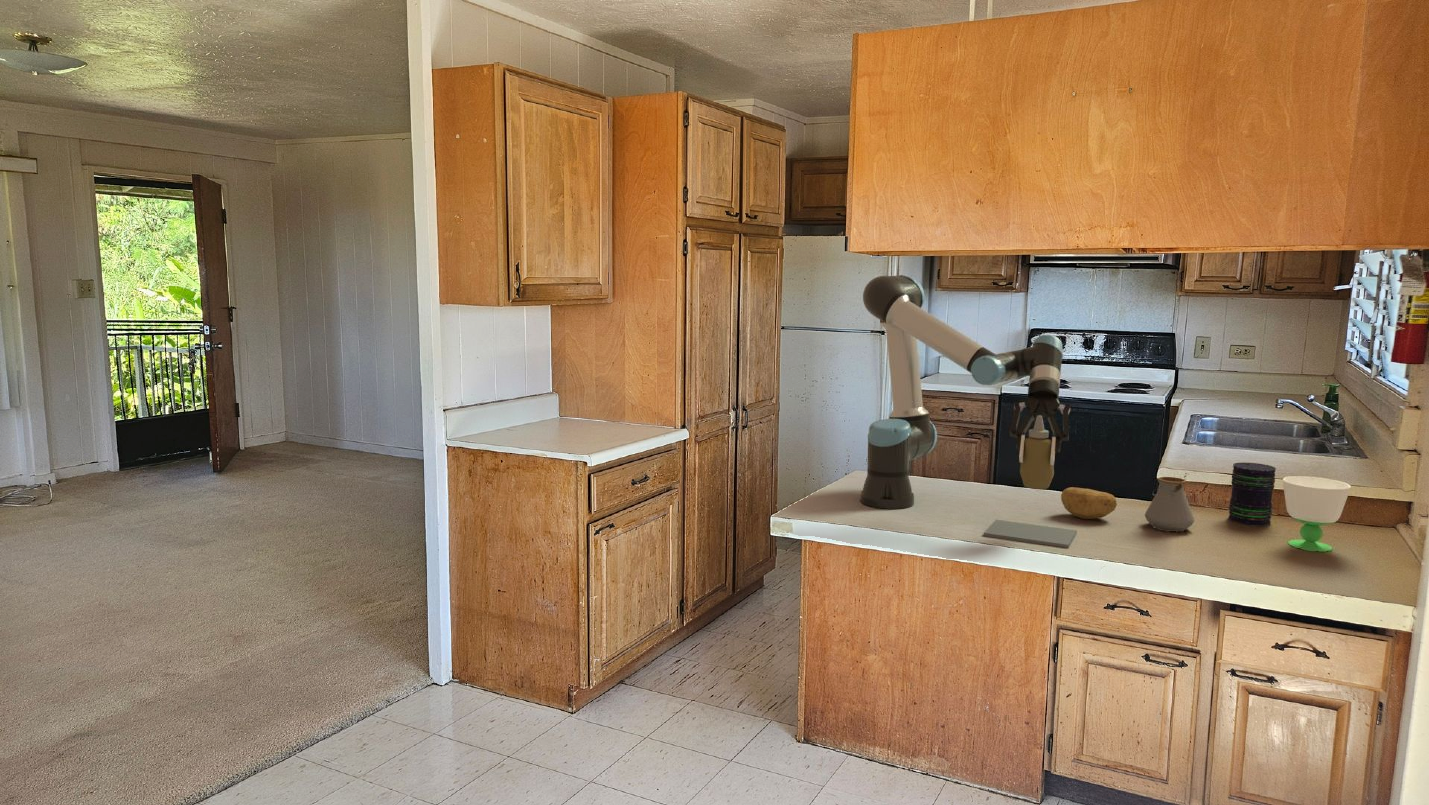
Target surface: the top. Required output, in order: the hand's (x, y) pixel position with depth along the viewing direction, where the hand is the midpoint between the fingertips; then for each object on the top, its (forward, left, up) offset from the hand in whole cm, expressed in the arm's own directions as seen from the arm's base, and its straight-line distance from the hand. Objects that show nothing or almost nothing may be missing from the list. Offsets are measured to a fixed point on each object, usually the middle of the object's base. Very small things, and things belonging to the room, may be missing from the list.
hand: (1036, 460), depth 218 cm
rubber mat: (-3, +3, -20) cm, 20 cm away
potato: (-4, +29, -20) cm, 35 cm away
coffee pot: (+16, +34, -20) cm, 43 cm away
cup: (+41, +51, -20) cm, 69 cm away
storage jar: (+22, +62, -20) cm, 69 cm away
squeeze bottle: (-2, +3, -8) cm, 8 cm away
